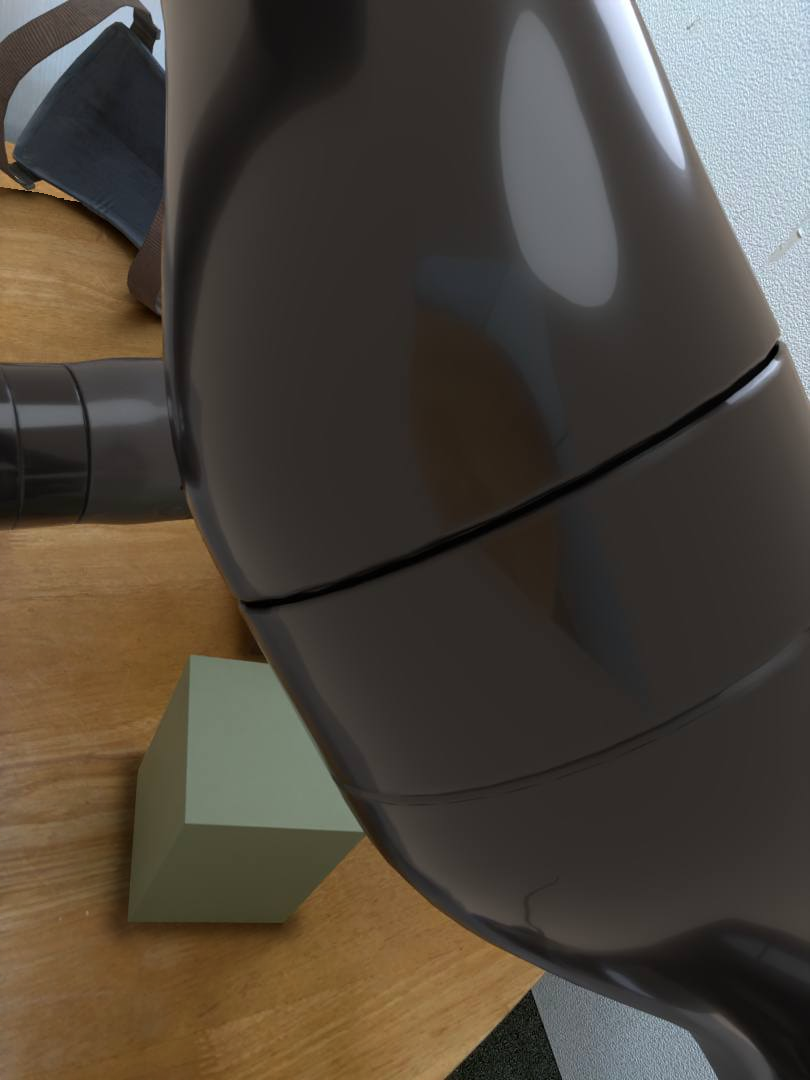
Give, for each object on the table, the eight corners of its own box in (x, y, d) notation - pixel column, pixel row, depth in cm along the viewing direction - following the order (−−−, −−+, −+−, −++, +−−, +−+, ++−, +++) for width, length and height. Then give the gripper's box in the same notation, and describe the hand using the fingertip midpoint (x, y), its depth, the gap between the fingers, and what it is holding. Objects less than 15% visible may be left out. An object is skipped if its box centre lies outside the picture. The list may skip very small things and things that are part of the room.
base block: (284, 923, 47) (369, 832, 39) (127, 922, 44) (184, 823, 36) (278, 780, 52) (353, 673, 44) (137, 770, 49) (190, 653, 41)
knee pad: (341, 196, 81) (136, 14, 82) (296, 101, 62) (27, -138, 62) (210, 350, 83) (11, 170, 84) (127, 305, 63) (-134, 71, 64)
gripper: (241, 507, 36) (548, 479, 46) (137, 273, 43) (425, 293, 53) (195, 612, 41) (480, 567, 51) (108, 389, 48) (376, 387, 58)
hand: (451, 428), depth 52 cm, fingers closed on pink block, 5 cm apart
